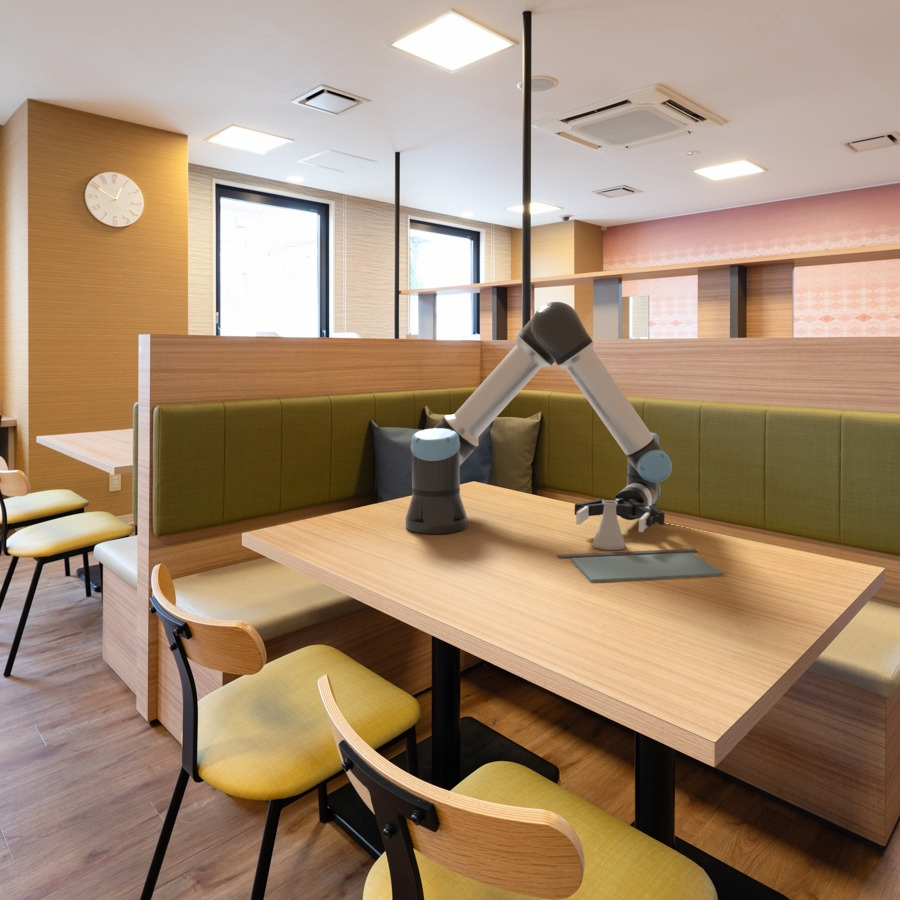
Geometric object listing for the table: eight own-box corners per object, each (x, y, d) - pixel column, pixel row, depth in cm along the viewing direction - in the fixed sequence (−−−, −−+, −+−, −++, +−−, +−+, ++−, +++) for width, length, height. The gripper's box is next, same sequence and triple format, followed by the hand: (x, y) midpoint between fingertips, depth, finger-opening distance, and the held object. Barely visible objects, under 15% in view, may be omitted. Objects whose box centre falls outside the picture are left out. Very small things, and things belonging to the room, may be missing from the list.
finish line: (559, 558, 139) (559, 556, 139) (557, 555, 141) (557, 554, 141) (697, 552, 142) (697, 550, 142) (694, 549, 144) (694, 548, 144)
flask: (627, 543, 149) (628, 499, 148) (624, 552, 143) (625, 506, 141) (594, 540, 152) (595, 497, 150) (590, 549, 145) (590, 504, 144)
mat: (590, 582, 125) (590, 579, 125) (570, 560, 138) (570, 558, 138) (723, 575, 128) (724, 573, 128) (692, 554, 140) (692, 552, 140)
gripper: (685, 522, 158) (667, 546, 139) (582, 511, 170) (553, 531, 151) (687, 491, 157) (669, 511, 138) (582, 482, 168) (553, 499, 150)
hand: (608, 522), depth 145 cm, fingers open, 13 cm apart
